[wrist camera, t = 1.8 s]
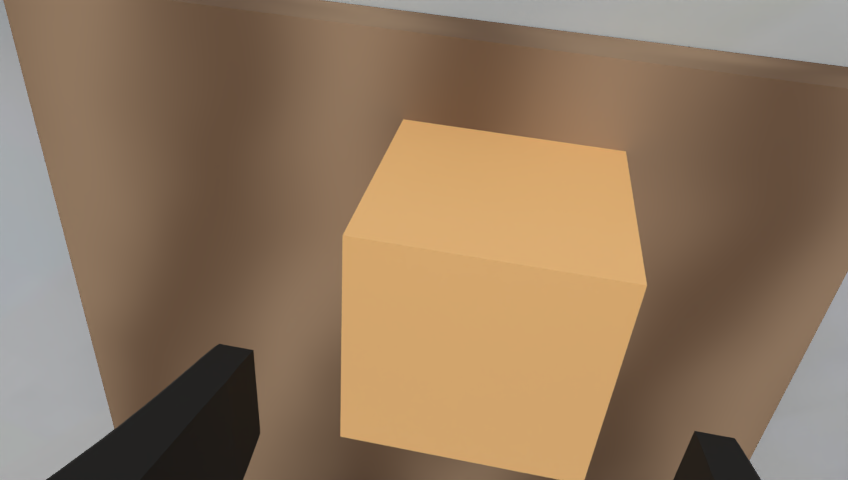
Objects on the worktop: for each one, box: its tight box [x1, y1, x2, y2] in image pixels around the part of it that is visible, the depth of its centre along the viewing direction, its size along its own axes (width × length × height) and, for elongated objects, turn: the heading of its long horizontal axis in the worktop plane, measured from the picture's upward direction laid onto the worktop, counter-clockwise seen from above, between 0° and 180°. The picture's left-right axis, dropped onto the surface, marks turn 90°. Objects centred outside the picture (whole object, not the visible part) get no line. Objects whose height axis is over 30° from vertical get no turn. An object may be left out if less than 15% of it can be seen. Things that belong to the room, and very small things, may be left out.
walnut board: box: [4, 0, 848, 480], centre depth 22 cm, size 20×25×2 cm
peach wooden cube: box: [340, 119, 647, 480], centre depth 15 cm, size 5×5×5 cm
